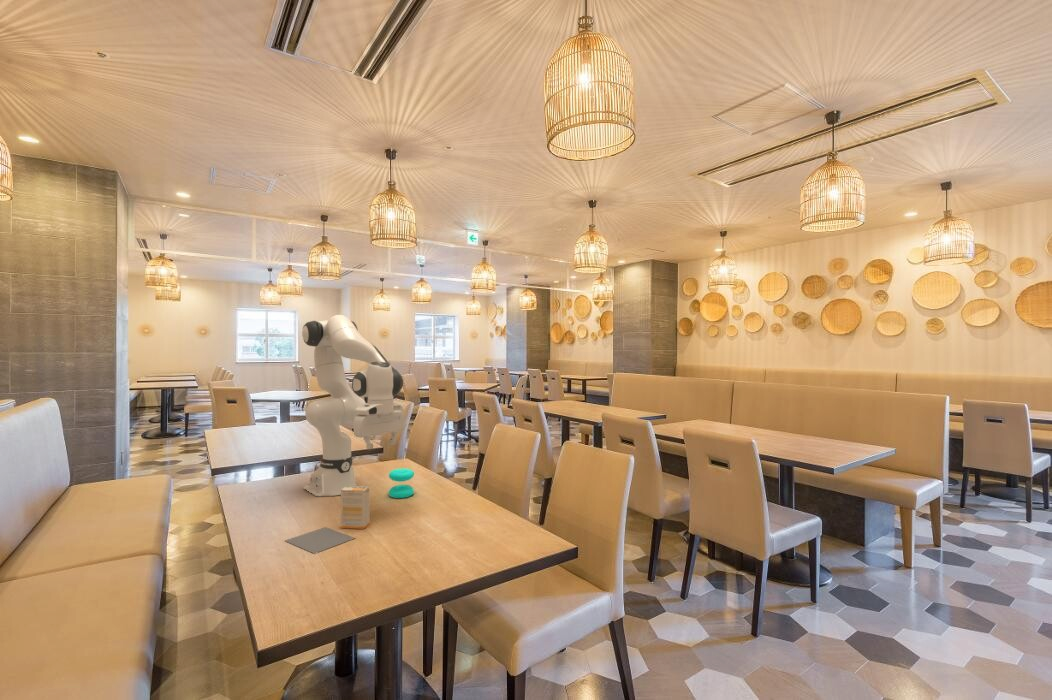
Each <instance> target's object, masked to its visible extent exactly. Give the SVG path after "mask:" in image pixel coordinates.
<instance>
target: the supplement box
mask: <svg viewBox="0 0 1052 700" xmlns="http://www.w3.org/2000/svg"><path fill="white" fill-rule="evenodd" d="M370 519H371V518H370V486H367V485H365V486H362V485H357V486H346V487H344V488H343V489H341V495H340V526H341V527H340V528H341V529H353V530H354V529H355V530H360V529H361V530H365V529H366V528H367V527H368V526H369V525H370V523H371V522H370Z"/></svg>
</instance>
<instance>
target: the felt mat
mask: <svg viewBox="0 0 1052 700" xmlns="http://www.w3.org/2000/svg"><path fill="white" fill-rule="evenodd" d="M355 539H356V537H354V536H351V535H349V534H347V533H346V534H345V533H343V532H340V531H338V530H335V529H331V528H330V527H327V526H324V527H322V528H318V529H316V530H312V531H309V532H306V533H303V534H300V535H297V536H294V537H292V538H288V539H286V540H284V542H286V543H289V544H291V545H293V546H295V547H297V548H299V547H300V548H299V549H301V550H304V551H306V550H307V552H308V551H309V553H311V552H312V553H311V554H313V553H316V552H318V553H321V552H324V551H326V550H329V549H331V547H332V548H335V547H337V546H340V545H343V544H345V543H347V541H348V542H350V540H351V541H353V540H355ZM342 543H343V544H342ZM339 544H340V545H339ZM334 546H335V547H334ZM323 550H324V551H323ZM320 551H321V552H320ZM316 554H317V553H316Z"/></svg>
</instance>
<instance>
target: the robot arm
mask: <svg viewBox="0 0 1052 700" xmlns="http://www.w3.org/2000/svg"><path fill="white" fill-rule="evenodd" d="M301 334H302V340H303V342H304V343H305V344H306V346H309V347H313V348H314V352H313V353H314V354H313V355H314V356H313V358H314V362H313V363H314V368H315V374H316V381H317V385H318V387H319V388H320V389H321V390H323V391H325V392H326V393H328V394H329V395H330V396H331V398H321V399H317V400H314V401H311V402H309V404H308V405H307V406H306V408H305V412H304V414H305V418H306V421H307V422H308V423H309V424H310V425H311V426H313V427H314V428H315V429H316V430H317V431H318V433H319V435H320V437H321V442H322V458H319V462H320V464H319V467H318V468H317V469H316V470H315V471H313V472H312V473H311V474H310V477H309V484H307V485H305V486H303V490H305V489H306V490H307V491H306V490H305V491H306V492H308V491H309V492H308V493H309V494H311V493H312V494H311V495H313V496H315V497H327V496H328V497H331V496H332V497H333V496H341V489H343V488H344V487H346V486H358V484H357V482H356V479H355V478H356V477H355V469H354V467H353V466H352V465H353V456H352V439H351V437H350V435H348V434H347V433H345V432H343V431H342V430H341V428H340V424H349V423H353V435H354V436H355V437H356V438H363V440H364V443H365V444H366V445H365V446H366V449H367V450H373V449H374V443H372V442H371V437H374V436H378V435H379V436H380V435H384V434H388V433H390V435H391V436H390V438H389V439H388V440H387V442H388V443H387V444H388V445H392V446H393V445H395V441H396V438H397V436H398V432H401V431H402V432H403V431H404V430H405V429H406V418H405V408H404V407H403V406H401V405H400V404H399V405H394V397H396V396H397V395H398V394H399V393H400V392H401V390H402V389H403V387H404V379H403V377H402V375H401V373H400V372H399V371H398V370H397V369H395V368H394V367H393V366H392V365H391V364H390V362H389V361H388V360H387V359H386V357H385V356H384V355H383V354H382V353H381V351H380V350H379V349H378V348H377V347H376V345H374V344H373V343H371V342H369V341H368V340H367V339H365V337H363V336H362V335H361V333H360V332H359V330H358V326H357V324H356V322H355V321H352V320H351V319H350V318H349V317H347V316H346V315H343V314H335V315H333V316H331V317H329V319H325V320H311V321H307V322H306V323H305V324H304V325H303V326H302V332H301ZM342 357H343V358H344V359H345V358H346V359H349V360H355V361H356V360H357V361H361V362H365V363H367V364H368V366H367V368H365V369H363V370H361V371H359V372H357V373H356V374H355V375H354V376H353V377H352V379H351V386H352V387H350V385H349V382H348V381H347V377H346V373H345V368H344V363H343V359H342ZM363 398H367V402H366V400H365V399H363Z"/></svg>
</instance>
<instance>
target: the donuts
mask: <svg viewBox="0 0 1052 700" xmlns="http://www.w3.org/2000/svg"><path fill="white" fill-rule="evenodd" d="M414 472H415V471H413V469H410V468H396V469H393V470H391V471H390V472H389V473H388V478H389V479H390V480H391V481H394V482H399V483H400V482H407V481H410V480H411V479H413V478H414V475H415V473H414ZM414 492H415V489H414V487H412V486H411V485H410V484H396V485H394V486H392V487H391V488H390V489H389V490H388V495H389V496H390V497H391V498H393V499H394V498H395V499H405V498H408V497H409V498H410V497H412V496H413V495H414Z"/></svg>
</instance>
